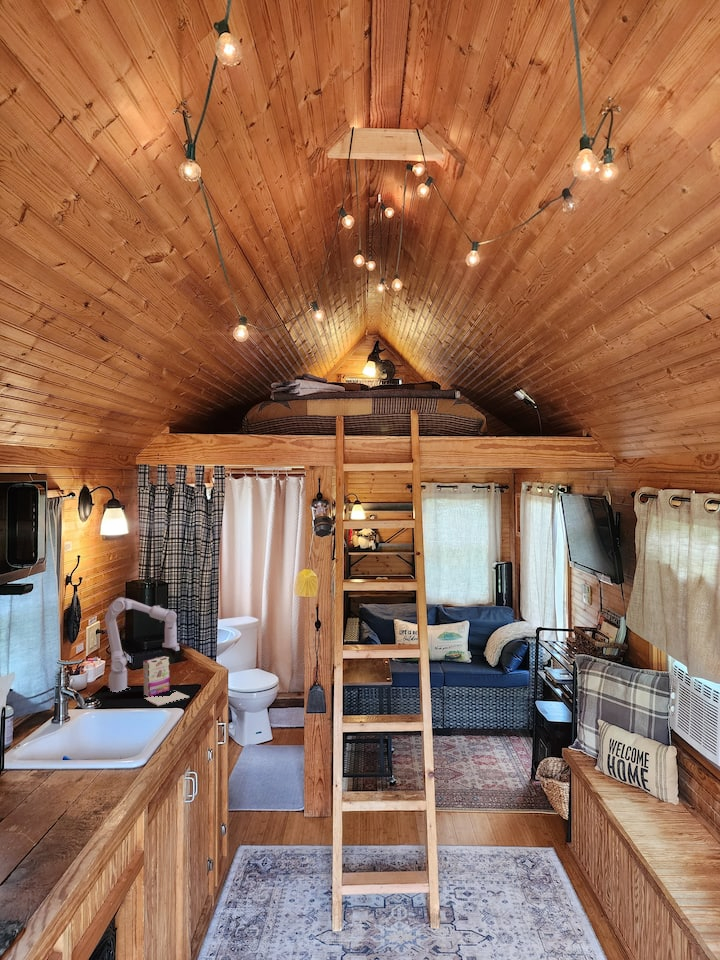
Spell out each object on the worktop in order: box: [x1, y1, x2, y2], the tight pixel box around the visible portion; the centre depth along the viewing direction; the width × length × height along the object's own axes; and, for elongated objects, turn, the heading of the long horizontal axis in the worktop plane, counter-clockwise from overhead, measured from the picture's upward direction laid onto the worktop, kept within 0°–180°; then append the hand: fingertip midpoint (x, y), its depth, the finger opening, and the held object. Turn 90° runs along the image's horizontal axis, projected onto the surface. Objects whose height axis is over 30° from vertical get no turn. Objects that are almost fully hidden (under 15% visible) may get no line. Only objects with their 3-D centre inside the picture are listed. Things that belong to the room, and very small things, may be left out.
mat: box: [143, 690, 190, 707], centre depth 262 cm, size 14×15×1 cm
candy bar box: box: [142, 655, 171, 697], centre depth 270 cm, size 11×5×16 cm, turn 141°
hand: (171, 663), depth 285 cm, fingers closed
